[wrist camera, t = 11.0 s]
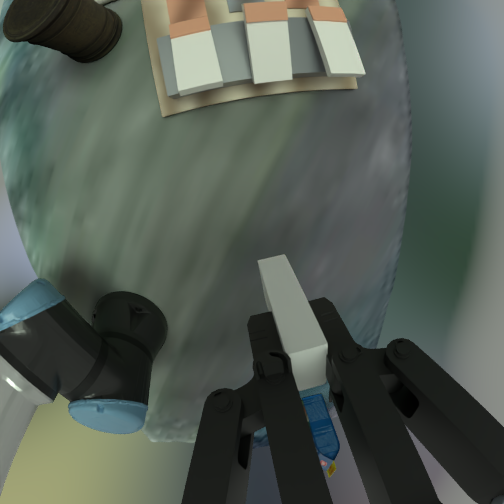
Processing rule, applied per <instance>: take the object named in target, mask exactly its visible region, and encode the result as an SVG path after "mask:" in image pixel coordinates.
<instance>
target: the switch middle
mask: <svg viewBox="0 0 504 504" xmlns="http://www.w3.org/2000/svg"><path fill="white" fill-rule="evenodd" d="M241 5H242V11H243V18H244V24H245V31H246V38H247V45H248V52H249V59H250V66H251V73H252V81H253V83H254V84H258V83H265V82H273V81H283V80H293V79H292V66H291V53H290V42H289V31H288V22H287V20H288V14H287V5H286V1H273V2H255V3H244V4H241Z"/></svg>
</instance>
